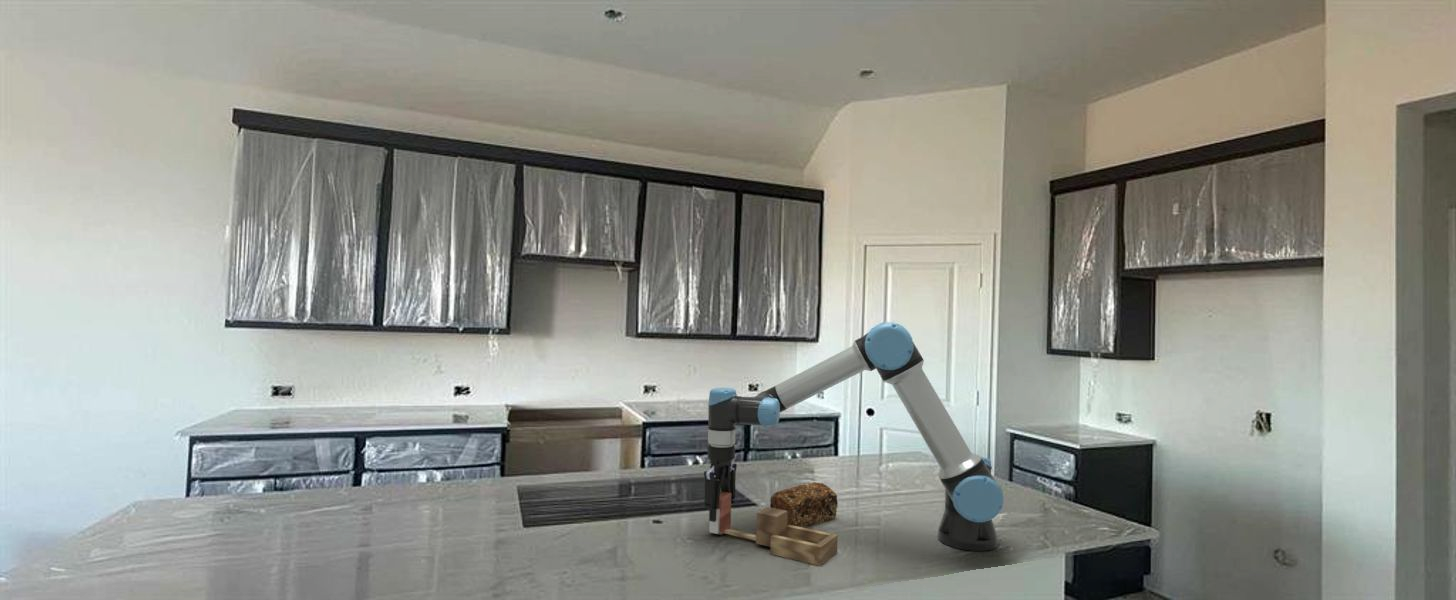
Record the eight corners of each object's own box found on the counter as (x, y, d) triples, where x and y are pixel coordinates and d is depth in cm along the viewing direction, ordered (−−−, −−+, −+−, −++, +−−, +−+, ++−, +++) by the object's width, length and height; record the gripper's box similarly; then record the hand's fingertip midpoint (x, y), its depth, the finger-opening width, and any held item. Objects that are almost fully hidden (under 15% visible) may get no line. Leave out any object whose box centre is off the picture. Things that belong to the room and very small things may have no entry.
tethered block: (787, 541, 167) (787, 503, 167) (776, 548, 162) (777, 508, 162) (719, 526, 178) (720, 490, 178) (707, 532, 173) (708, 495, 173)
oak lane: (837, 552, 162) (837, 534, 162) (820, 565, 153) (820, 547, 153) (789, 541, 169) (789, 524, 170) (770, 553, 160) (770, 536, 160)
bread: (814, 511, 197) (814, 478, 198) (839, 520, 189) (839, 486, 189) (768, 521, 186) (768, 487, 187) (792, 531, 178) (793, 495, 178)
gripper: (726, 438, 185) (725, 518, 184) (691, 448, 169) (689, 536, 169) (749, 441, 181) (747, 523, 180) (715, 451, 166) (713, 542, 165)
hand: (719, 529), depth 174 cm, fingers closed on tethered block, 5 cm apart
